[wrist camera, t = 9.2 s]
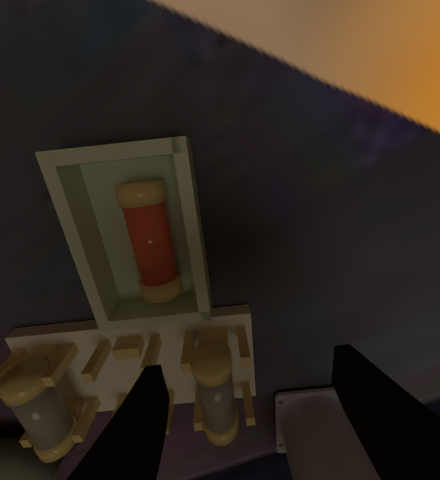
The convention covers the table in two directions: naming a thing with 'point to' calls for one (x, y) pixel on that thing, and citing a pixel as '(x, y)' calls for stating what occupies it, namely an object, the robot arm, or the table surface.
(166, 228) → the cylinder
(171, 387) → the fuse holder
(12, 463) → the air freshener
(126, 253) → the tray
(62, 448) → the fuse
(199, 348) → the fuse
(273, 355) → the table surface
